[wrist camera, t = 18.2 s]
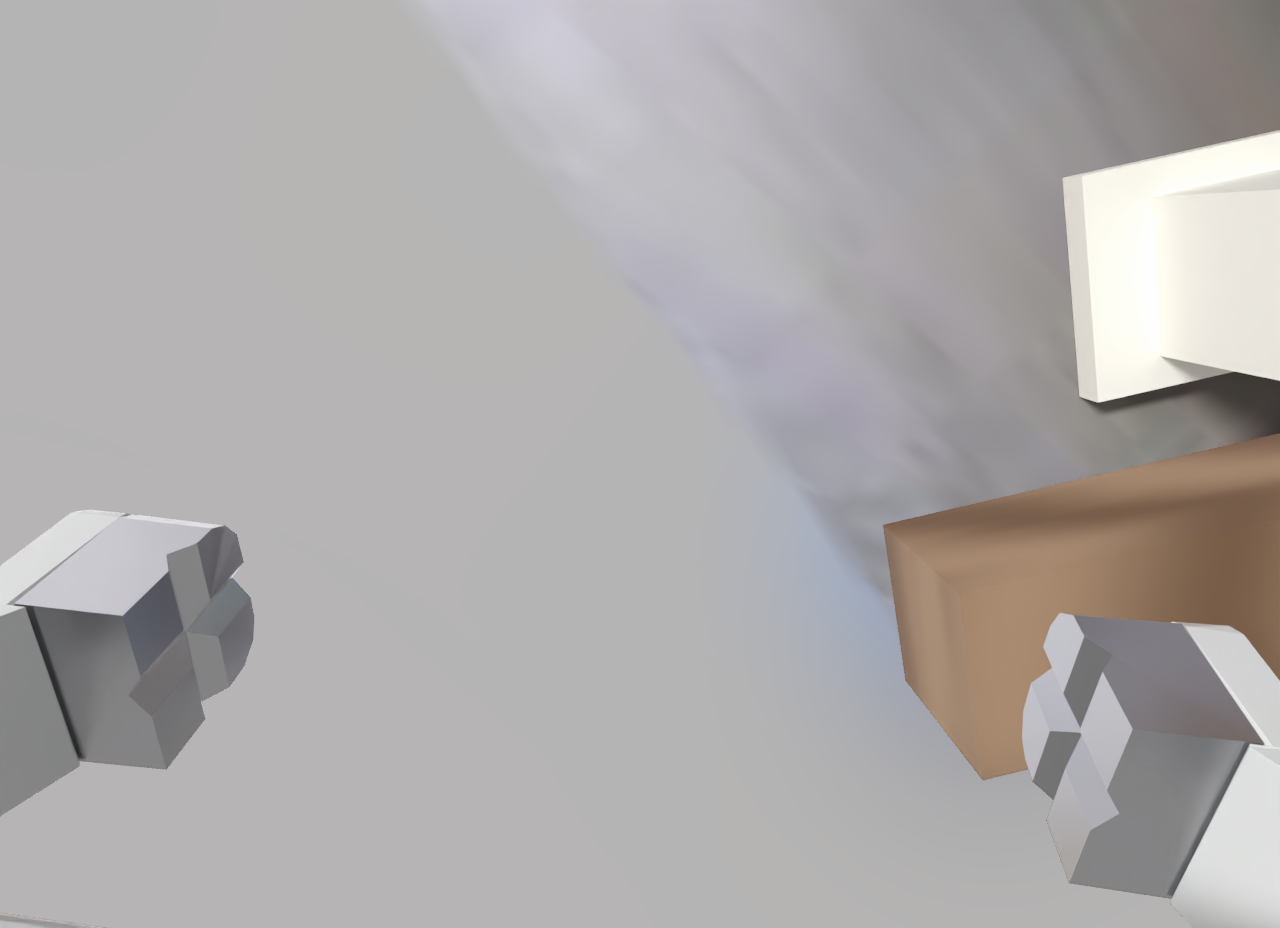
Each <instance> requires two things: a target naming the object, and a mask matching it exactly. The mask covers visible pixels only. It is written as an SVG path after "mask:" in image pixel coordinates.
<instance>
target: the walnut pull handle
mask: <svg viewBox="0 0 1280 928" xmlns="http://www.w3.org/2000/svg"><path fill="white" fill-rule="evenodd" d="M883 528H884V535H885V542H886V548H887V555H888V562H889V569H890V576H891V583H892V590H893V597H894V604H895V611H896V618H897V625H898V632H899V638H900V645H901V652H902V659H903V666H904V673H905V680H906V682H907V683H908V684H909V685H910V686H911V688H912V689H913V691H914V692H915V693H916V695H917V696H918V697H919V698H920V700H921V701H922V702H923V704H924V705H925V706H926V707H927V709H928V710H929V711H930V713H931V714H932V715H933V717H934V718H935V719H936V720H937V721H938V723H939V724H940V725H941V727H942V728H943V729H944V731H945V732H946V733H947V735H948V736H949V737H950V738H951V740H952V741H953V742H954V744H955V745H956V746H957V748H958V749H959V750H960V751H961V753H962V754H963V755H964V757H965V758H966V759H967V760H968V762H969V763H970V764H971V766H972V767H973V768H974V770H975V771H976V772H977V773H978V775H979V776H980V777H981V779H982V780H986V779H989V778H994V777H998V776H1002V775H1006V774H1010V773H1014V772H1019V771H1022V770H1027V769H1028V766H1027V763H1026V760H1025V754H1024V748H1023V742H1022V727H1023V710H1024V706H1025V703H1026V699H1027V696H1028V692H1029V689H1030V685H1031V683H1032V682H1033V681H1035V680H1036V679H1037V678H1039V677H1040V676H1041V675H1043V674H1044V673H1046V672H1047V671H1048V670H1050V669H1051V668H1052V666H1051V664H1050V662H1049V659H1048V657H1047V655H1046V652H1045V650H1044V648H1043V646H1044V643H1045V640H1046V637H1047V634H1048V631H1049V628H1050V626H1051V624H1052V623H1053V621H1054V620H1055V619H1056V617H1057V616H1058V615H1059V613H1068V614H1079V615H1090V616H1101V617H1112V618H1123V619H1135V620H1146V621H1157V622H1168V623H1171V622H1184V623H1198V624H1212V625H1225V626H1230V627H1232V628H1234V629H1236V630H1237V631H1239V632H1241V633H1242V634H1244V635H1245V637H1246V638H1247V639H1248V641H1249V642H1250V643H1251V644H1252V646H1253V647H1254V648H1255V650H1256V651H1257V652H1258V653H1259V655H1260V656H1261V657H1262V659H1263V660H1264V661H1265V662H1266V664H1267V665H1268V666H1269V668H1270V669H1271V670H1272V672H1273V673H1274V674H1275V675H1276V677H1277V678H1278V679H1279V681H1280V433H1278V434H1274V435H1270V436H1265V437H1261V438H1257V439H1252V440H1248V441H1244V442H1240V443H1235V444H1231V445H1227V446H1222V447H1218V448H1214V449H1209V450H1205V451H1201V452H1196V453H1192V454H1188V455H1183V456H1179V457H1175V458H1170V459H1166V460H1162V461H1157V462H1153V463H1149V464H1144V465H1140V466H1136V467H1131V468H1127V469H1123V470H1119V471H1114V472H1110V473H1106V474H1101V475H1097V476H1093V477H1088V478H1084V479H1080V480H1075V481H1071V482H1067V483H1062V484H1058V485H1054V486H1049V487H1045V488H1041V489H1036V490H1032V491H1028V492H1023V493H1019V494H1015V495H1011V496H1006V497H1002V498H998V499H993V500H989V501H985V502H980V503H976V504H972V505H967V506H963V507H959V508H954V509H950V510H946V511H941V512H937V513H933V514H928V515H924V516H920V517H915V518H911V519H907V520H902V521H898V522H894V523H890V524H885V525H883Z"/></svg>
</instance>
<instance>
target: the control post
mask: <svg viewBox="0 0 1280 928" xmlns="http://www.w3.org/2000/svg"><path fill="white" fill-rule="evenodd" d="M1063 191H1064V203H1065V216H1066V229H1067V242H1068V255H1069V268H1070V280H1071V293H1072V306H1073V319H1074V332H1075V344H1076V357H1077V370H1078V383H1079V396H1080V397H1082V398H1085V399H1088V400H1091V401H1094V402H1098V403H1099V402H1104V401H1108V400H1112V399H1117V398H1121V397H1125V396H1130V395H1134V394H1139V393H1143V392H1147V391H1152V390H1156V389H1160V388H1165V387H1169V386H1174V385H1178V384H1182V383H1187V382H1191V381H1195V380H1200V379H1204V378H1209V377H1213V376H1217V375H1222V374H1226V373H1230V372H1240V373H1245V374H1249V375H1254V376H1259V377H1264V378H1269V379H1274V380H1278V381H1280V130H1277V131H1273V132H1268V133H1264V134H1259V135H1255V136H1250V137H1246V138H1241V139H1237V140H1232V141H1227V142H1223V143H1218V144H1214V145H1209V146H1205V147H1200V148H1196V149H1191V150H1187V151H1182V152H1178V153H1173V154H1168V155H1164V156H1159V157H1155V158H1150V159H1146V160H1141V161H1137V162H1132V163H1128V164H1123V165H1119V166H1114V167H1109V168H1105V169H1100V170H1096V171H1091V172H1087V173H1082V174H1078V175H1073V176H1069V177H1064V178H1063Z"/></svg>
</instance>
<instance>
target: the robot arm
mask: <svg viewBox="0 0 1280 928" xmlns="http://www.w3.org/2000/svg"><path fill="white" fill-rule="evenodd" d="M242 563H243V558H242V554H241V550H240V546H239V542H238V538H237V534H235V533H234V532H232V531H231V530H230V529H229V528H227V527H226V526H224V525H217V524H209V523H201V522H193V521H184V520H177V519H168V518H160V517H153V516H145V515H136V514H135V515H130V514H127V513H119V512H108V511H99V510H83V511H75V512H72V513H70V514H69V515H67V516H66V517H65V518H63V519H62V520H61V521H59V522H58V523H57V524H55V525H54V526H53V527H51V528H50V529H49V530H47V531H46V532H45V533H43V534H42V535H41V536H39V537H38V538H37V539H35V540H34V541H33V542H31V543H30V544H29V545H27V546H26V547H25V548H24V549H22V550H21V551H19V552H18V553H17V554H15V555H14V556H13V557H11V558H10V559H9V560H7V561H6V562H5V563H3V564H2V565H1V566H0V816H1V815H3V814H4V813H6V812H8V811H9V810H11V809H12V808H14V807H15V806H17V805H19V804H20V803H22V802H23V801H25V800H27V799H28V798H30V797H31V796H33V795H34V794H36V793H38V792H39V791H41V790H42V789H44V788H46V787H47V786H49V785H50V784H52V783H54V782H55V781H56V780H58V779H60V778H61V777H63V776H65V775H66V774H68V773H69V772H71V771H73V770H74V769H76V768H77V767H79V766H80V762H79V761H84V762H94V763H105V764H115V765H125V766H137V767H146V768H156V769H167V768H168V767H169V766H170V764H171V763H172V761H173V760H174V759H175V758H176V756H177V755H178V754H179V752H180V751H181V750H182V748H183V747H184V746H185V744H186V743H187V742H188V741H189V739H190V738H191V737H192V735H193V734H194V733H195V731H196V730H197V729H198V728H199V726H200V725H201V724H202V722H203V721H204V720H205V715H204V708H203V702H202V701H203V700H205V699H207V698H209V697H211V696H213V695H215V694H217V693H219V692H221V691H223V690H224V689H226V688H228V687H230V685H231V684H232V682H233V681H234V680H235V678H236V677H237V675H238V674H239V673H240V671H241V670H242V668H243V667H244V665H245V662H246V659H247V656H248V653H249V650H250V647H251V644H252V641H253V631H254V614H253V609H252V603H251V598H250V597H249V595H248V594H247V593H246V592H245V591H244V590H243V589H242V588H241V587H240V586H239V585H238V583H237V582H236V581H235V580H234V579H233V577H234V575H235V574H236V572H237V571H238V569H239V568H240V566H241V565H242ZM1043 648H1044V650H1045V652H1046V655H1047V657H1048V659H1049V662H1050V664H1051V666H1052V668H1051V669H1050V670H1048V671H1047V672H1046V673H1044V674H1043V675H1041V676H1040V677H1039V678H1037V679H1036V680H1035V681H1033V682H1032V683H1031V685H1030V689H1029V692H1028V696H1027V699H1026V703H1025V706H1024V710H1023V727H1022V742H1023V748H1024V754H1025V760H1026V763H1027V766H1028V769H1029V772H1030V775H1031V778H1032V781H1033V782H1034V783H1035V784H1036V785H1037V786H1038V787H1040V788H1041V789H1042V790H1043V791H1044V792H1045V793H1046V794H1047V795H1049V796H1050V797H1051V798H1052V799H1053V800H1054V801H1053V803H1052V806H1051V809H1050V812H1049V814H1048V817H1047V820H1046V821H1047V823H1048V826H1049V829H1050V832H1051V834H1052V837H1053V840H1054V843H1055V845H1056V848H1057V851H1058V854H1059V856H1060V859H1061V862H1062V864H1063V867H1064V870H1065V873H1066V876H1067V878H1068V881H1069V883H1073V884H1079V885H1085V886H1092V887H1098V888H1105V889H1112V890H1118V891H1124V892H1131V893H1138V894H1144V895H1151V896H1157V897H1164V898H1171V901H1170V904H1171V905H1172V906H1173V907H1174V908H1175V909H1176V910H1177V911H1178V912H1179V913H1180V914H1181V916H1183V918H1184V919H1185V920H1186V921H1187V922H1188V923H1189V924H1190V925H1191V926H1192V927H1193V928H1280V681H1279V679H1278V678H1277V677H1276V675H1275V674H1274V673H1273V672H1272V670H1271V669H1270V668H1269V666H1268V665H1267V664H1266V662H1265V661H1264V660H1263V659H1262V657H1261V656H1260V655H1259V653H1258V652H1257V651H1256V650H1255V648H1254V647H1253V646H1252V644H1251V643H1250V642H1249V641H1248V639H1247V638H1246V637H1245V635H1244V634H1242V633H1241V632H1239V631H1237V630H1236V629H1234V628H1232V627H1230V626H1225V625H1212V624H1198V623H1184V622H1171V623H1168V622H1157V621H1146V620H1135V619H1123V618H1112V617H1101V616H1090V615H1079V614H1068V613H1059V615H1058V616H1057V617H1056V619H1055V620H1054V621H1053V623H1052V624H1051V626H1050V628H1049V631H1048V634H1047V637H1046V640H1045V643H1044V646H1043ZM0 928H106V927H98V926H91V925H84V924H77V923H69V922H63V921H56V920H48V919H41V918H35V917H27V916H20V915H13V914H6V913H0Z"/></svg>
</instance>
